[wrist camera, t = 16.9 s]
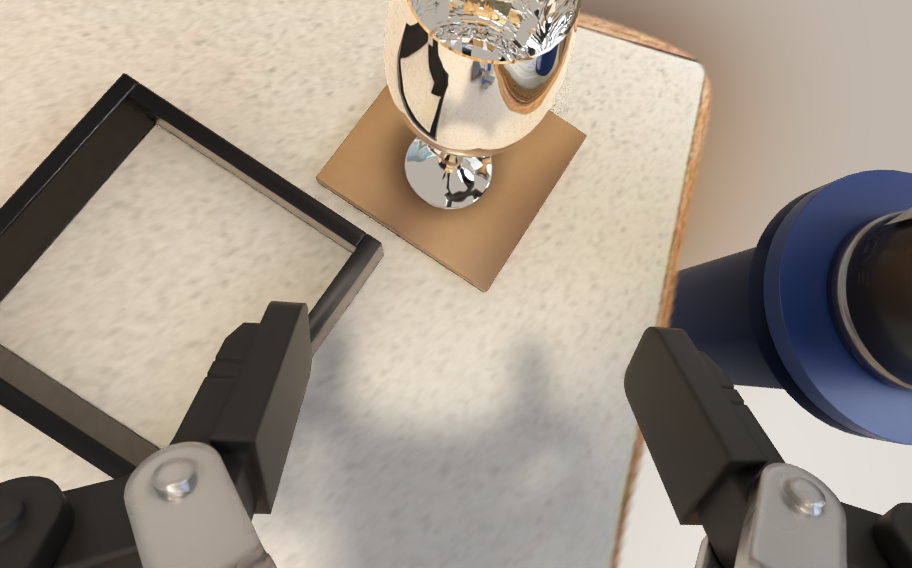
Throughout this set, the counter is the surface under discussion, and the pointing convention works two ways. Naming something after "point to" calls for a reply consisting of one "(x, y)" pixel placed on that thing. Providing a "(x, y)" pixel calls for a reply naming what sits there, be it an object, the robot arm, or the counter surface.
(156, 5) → the counter surface
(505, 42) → the wineglass
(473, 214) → the plate
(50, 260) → the counter surface
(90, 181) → the black square frame
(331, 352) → the counter surface
